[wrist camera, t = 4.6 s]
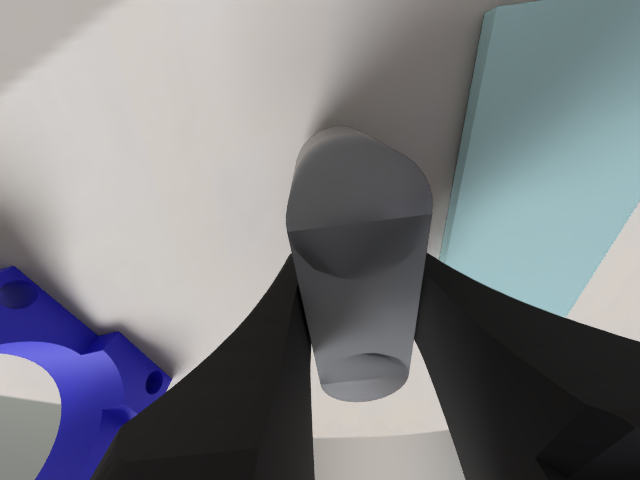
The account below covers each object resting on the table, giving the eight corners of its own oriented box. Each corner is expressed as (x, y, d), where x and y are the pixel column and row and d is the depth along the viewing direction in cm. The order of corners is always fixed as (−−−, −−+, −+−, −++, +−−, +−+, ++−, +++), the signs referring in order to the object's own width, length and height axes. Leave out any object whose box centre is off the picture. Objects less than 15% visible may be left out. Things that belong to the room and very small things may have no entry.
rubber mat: (756, -27, 8) (789, -36, 7) (558, 309, 16) (566, 316, 15) (484, 13, 8) (496, 6, 7) (427, 324, 16) (431, 332, 16)
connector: (381, 120, 8) (443, 134, 5) (377, 333, 15) (402, 415, 11) (287, 132, 9) (270, 157, 5) (323, 340, 15) (329, 423, 11)
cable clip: (173, 377, 18) (119, 486, 13) (122, 387, 19) (50, 497, 13) (41, 257, 12) (-158, 371, 7) (-30, 276, 12) (-267, 398, 7)
